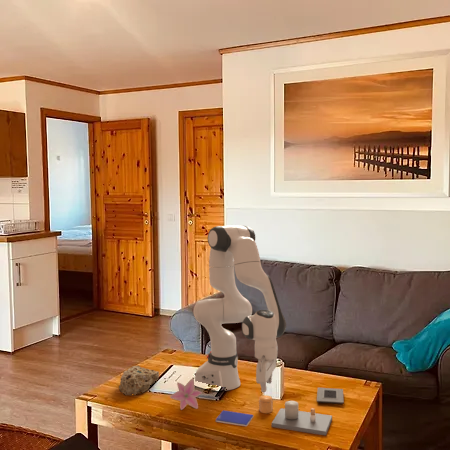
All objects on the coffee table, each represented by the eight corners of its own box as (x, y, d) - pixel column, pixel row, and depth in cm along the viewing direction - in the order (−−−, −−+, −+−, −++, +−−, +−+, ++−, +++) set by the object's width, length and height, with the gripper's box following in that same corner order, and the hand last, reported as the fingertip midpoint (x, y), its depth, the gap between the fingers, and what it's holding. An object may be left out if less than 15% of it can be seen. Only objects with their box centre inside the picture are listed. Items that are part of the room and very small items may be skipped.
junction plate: (271, 426, 194) (271, 408, 193) (280, 411, 206) (280, 394, 205) (325, 435, 187) (325, 416, 186) (332, 419, 199) (332, 401, 198)
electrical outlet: (343, 407, 210) (343, 401, 210) (316, 405, 212) (316, 399, 212) (342, 393, 223) (342, 388, 222) (317, 392, 225) (317, 386, 225)
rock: (131, 379, 245) (136, 358, 245) (159, 389, 242) (164, 368, 241) (111, 392, 225) (116, 370, 225) (141, 403, 222) (147, 380, 221)
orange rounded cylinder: (257, 412, 206) (257, 399, 206) (261, 406, 211) (261, 394, 210) (270, 413, 204) (270, 401, 204) (273, 408, 209) (273, 396, 209)
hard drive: (215, 419, 199) (246, 423, 195) (223, 409, 207) (253, 414, 202) (215, 423, 199) (246, 427, 195) (223, 413, 207) (253, 418, 202)
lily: (166, 410, 212) (169, 394, 207) (176, 388, 222) (179, 373, 217) (194, 420, 211) (198, 405, 206) (202, 398, 220) (206, 383, 215)
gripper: (268, 361, 194) (268, 397, 195) (278, 345, 214) (279, 378, 215) (251, 360, 196) (252, 396, 197) (263, 344, 216) (264, 377, 217)
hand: (266, 387), depth 206 cm, fingers open, 8 cm apart
